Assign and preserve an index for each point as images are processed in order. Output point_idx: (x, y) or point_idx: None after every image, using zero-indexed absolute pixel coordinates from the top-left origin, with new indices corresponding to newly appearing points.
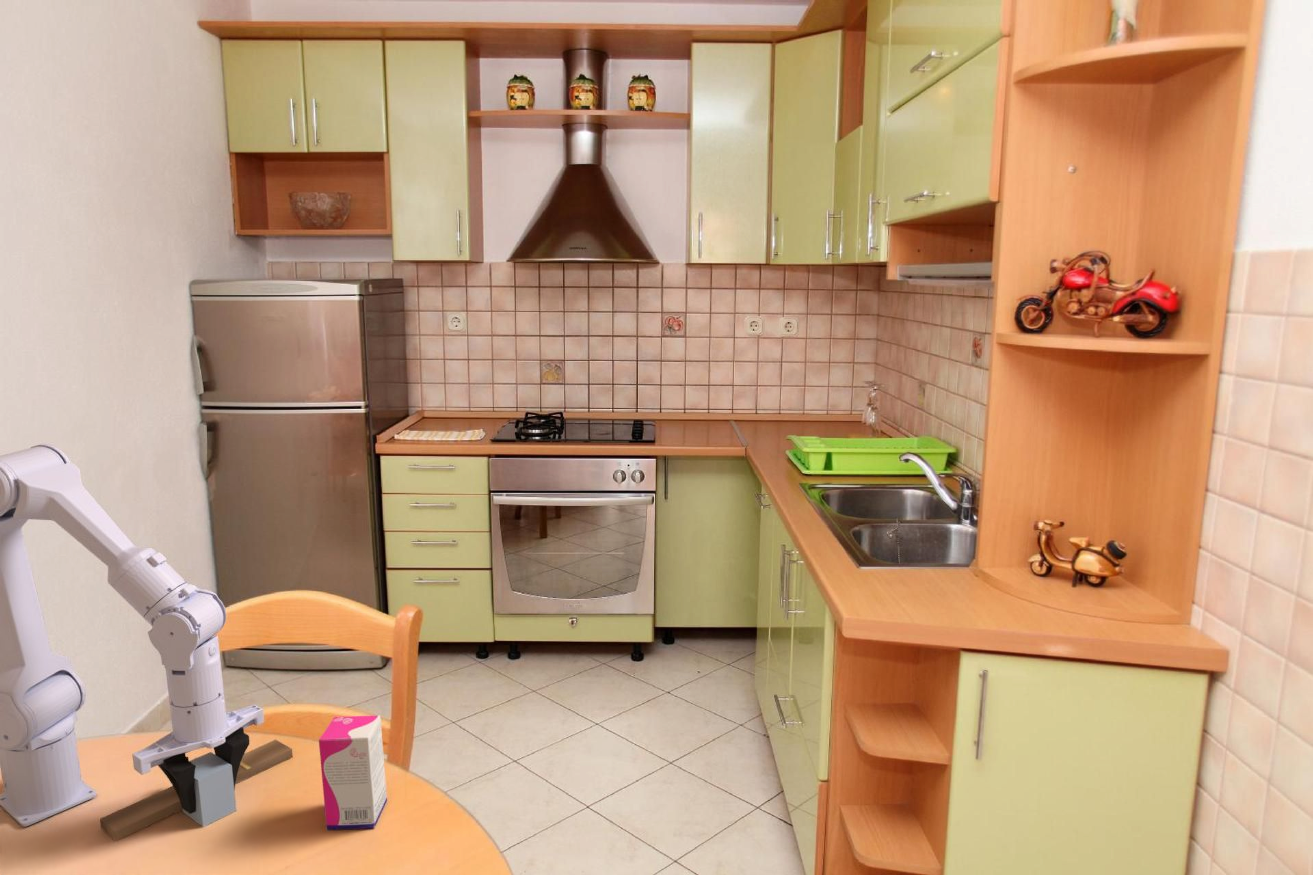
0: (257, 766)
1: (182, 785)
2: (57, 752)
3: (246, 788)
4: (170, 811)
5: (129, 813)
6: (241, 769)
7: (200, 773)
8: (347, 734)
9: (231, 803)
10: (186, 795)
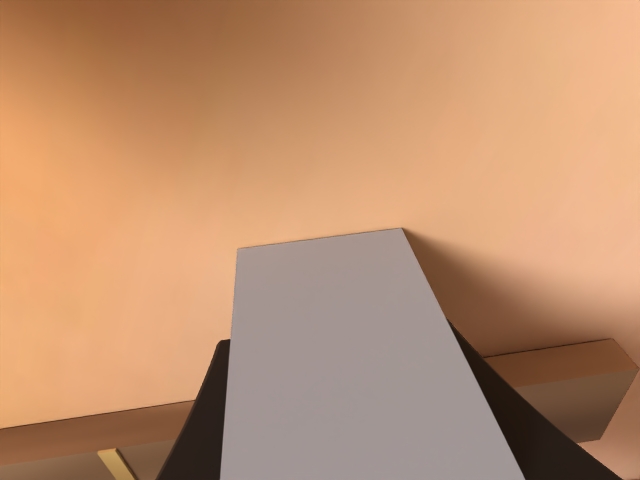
0: (69, 447)
1: (613, 476)
2: None
3: (148, 361)
4: None
5: None
6: (137, 456)
7: None
8: None
9: (258, 277)
10: (519, 395)
